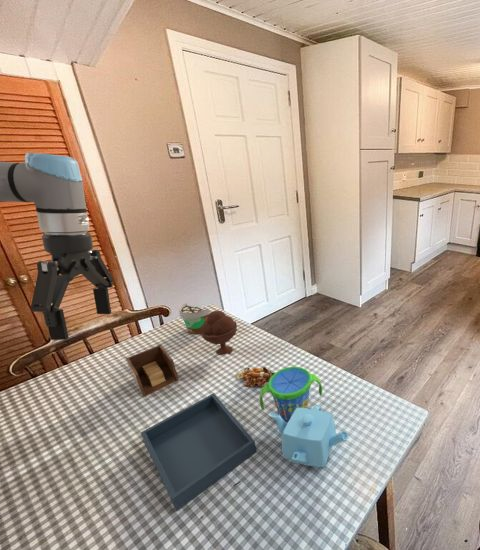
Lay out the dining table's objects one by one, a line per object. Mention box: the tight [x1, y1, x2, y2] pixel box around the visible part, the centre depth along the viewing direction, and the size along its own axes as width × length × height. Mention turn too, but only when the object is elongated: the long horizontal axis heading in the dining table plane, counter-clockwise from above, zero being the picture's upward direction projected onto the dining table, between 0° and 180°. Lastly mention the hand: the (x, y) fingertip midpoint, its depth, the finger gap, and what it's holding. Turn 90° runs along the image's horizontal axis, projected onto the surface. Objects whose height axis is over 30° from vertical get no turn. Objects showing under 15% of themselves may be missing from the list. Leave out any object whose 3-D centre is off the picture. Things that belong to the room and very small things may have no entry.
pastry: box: [235, 366, 277, 388], centre depth 90 cm, size 7×12×4 cm, turn 78°
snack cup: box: [259, 366, 323, 422], centre depth 78 cm, size 16×10×10 cm
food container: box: [179, 303, 211, 336], centre depth 113 cm, size 12×6×10 cm, turn 68°
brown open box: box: [125, 344, 180, 398], centre depth 89 cm, size 11×9×8 cm
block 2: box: [146, 367, 166, 387], centre depth 89 cm, size 3×3×3 cm
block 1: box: [143, 362, 159, 381], centre depth 91 cm, size 3×3×3 cm
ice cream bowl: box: [200, 310, 238, 356], centre depth 101 cm, size 11×11×15 cm
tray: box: [140, 392, 257, 512], centre depth 69 cm, size 22×17×4 cm
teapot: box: [269, 405, 349, 469], centre depth 66 cm, size 18×14×10 cm
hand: (84, 325), depth 69 cm, fingers open, 13 cm apart
